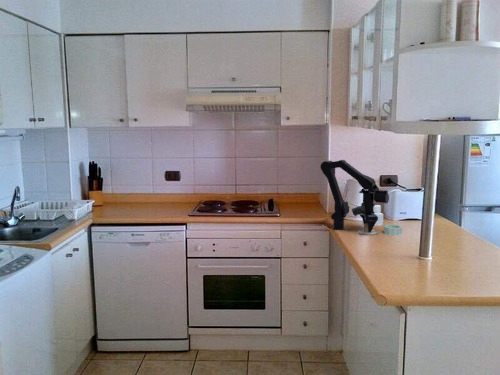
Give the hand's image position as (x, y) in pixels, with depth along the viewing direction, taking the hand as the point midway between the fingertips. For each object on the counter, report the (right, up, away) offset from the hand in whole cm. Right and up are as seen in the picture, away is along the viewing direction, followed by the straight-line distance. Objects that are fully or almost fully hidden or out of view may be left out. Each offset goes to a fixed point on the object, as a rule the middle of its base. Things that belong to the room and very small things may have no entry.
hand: (367, 230), depth 236 cm
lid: (0, -1, 0) cm, 1 cm away
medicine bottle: (+9, +1, +19) cm, 21 cm away
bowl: (+13, -2, -2) cm, 13 cm away
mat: (0, -2, 0) cm, 2 cm away
